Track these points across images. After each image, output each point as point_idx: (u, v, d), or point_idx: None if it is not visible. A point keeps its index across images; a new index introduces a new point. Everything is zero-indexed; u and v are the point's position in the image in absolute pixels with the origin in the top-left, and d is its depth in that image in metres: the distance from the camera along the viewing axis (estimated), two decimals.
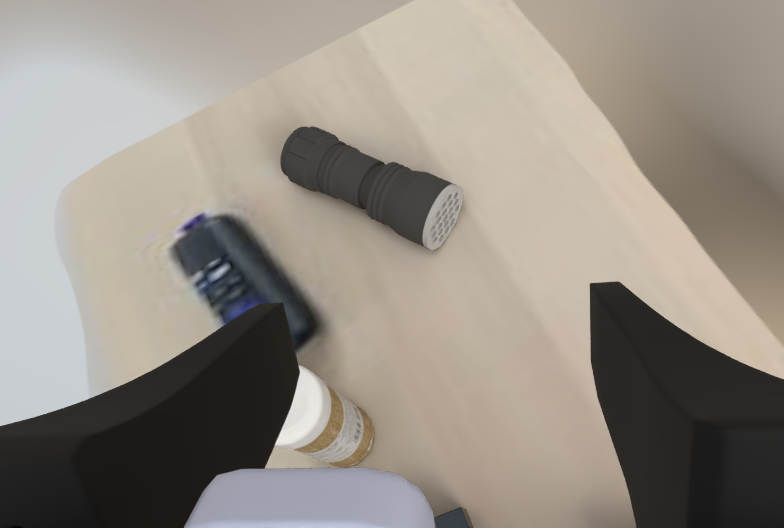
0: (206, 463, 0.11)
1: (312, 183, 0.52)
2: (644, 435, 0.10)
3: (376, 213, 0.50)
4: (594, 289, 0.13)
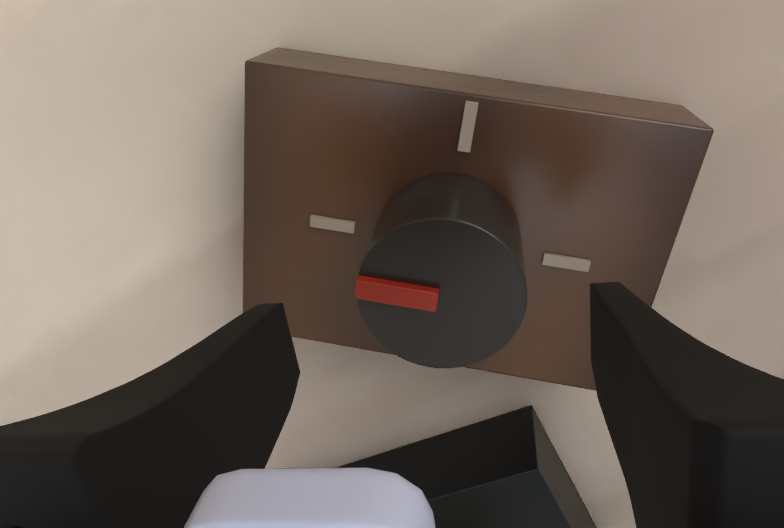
0: (206, 463, 0.11)
1: None
2: (644, 435, 0.10)
3: None
4: (594, 289, 0.13)
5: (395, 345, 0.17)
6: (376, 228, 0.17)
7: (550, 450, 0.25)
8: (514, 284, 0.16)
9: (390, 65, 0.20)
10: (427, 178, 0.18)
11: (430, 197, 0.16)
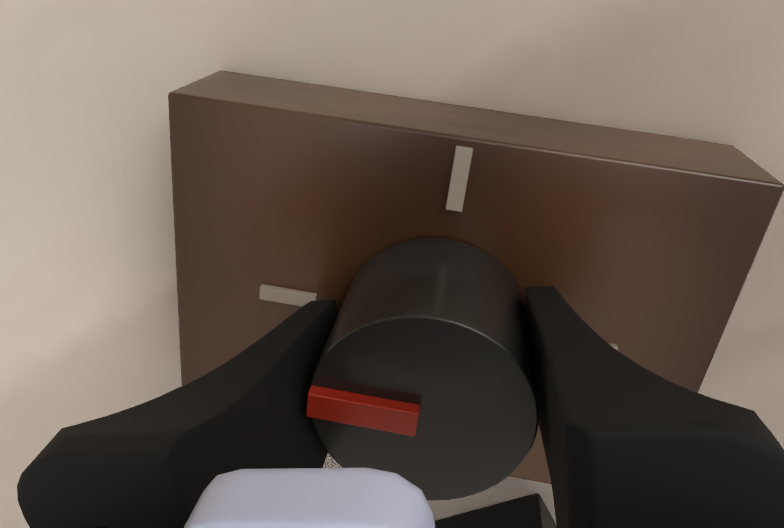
0: (275, 462, 0.11)
1: None
2: (554, 436, 0.10)
3: None
4: (526, 293, 0.13)
5: None
6: (339, 313, 0.13)
7: None
8: (521, 402, 0.11)
9: (362, 94, 0.15)
10: (407, 243, 0.14)
11: (408, 277, 0.12)
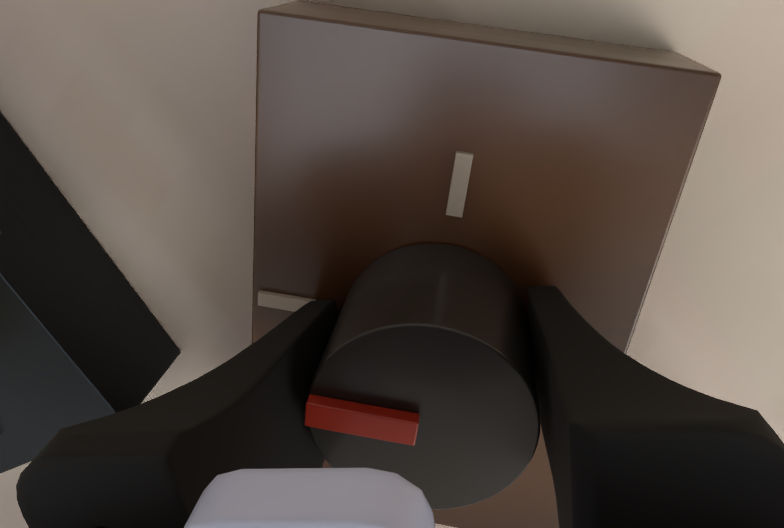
0: (275, 462, 0.11)
1: None
2: (556, 437, 0.10)
3: None
4: (528, 293, 0.13)
5: None
6: (337, 320, 0.13)
7: None
8: (522, 411, 0.11)
9: None
10: (406, 249, 0.14)
11: (407, 284, 0.12)
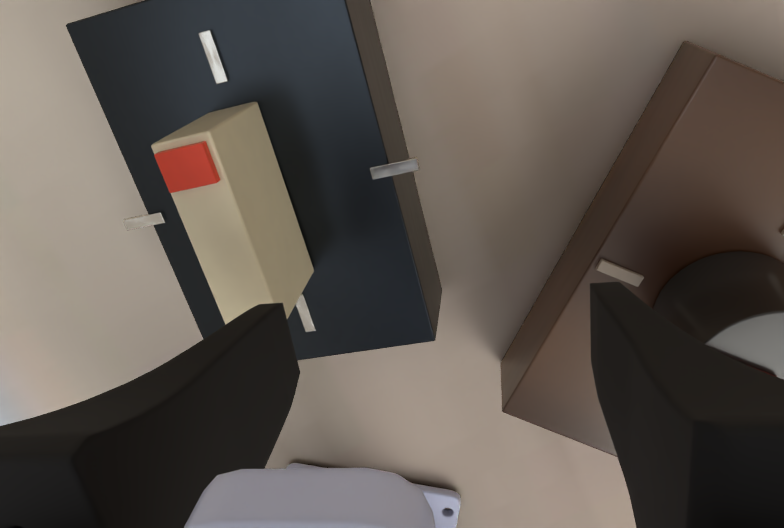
0: (206, 463, 0.11)
1: None
2: (644, 435, 0.10)
3: None
4: (594, 289, 0.13)
5: None
6: (698, 297, 0.17)
7: None
8: None
9: None
10: (741, 254, 0.18)
11: (774, 282, 0.16)
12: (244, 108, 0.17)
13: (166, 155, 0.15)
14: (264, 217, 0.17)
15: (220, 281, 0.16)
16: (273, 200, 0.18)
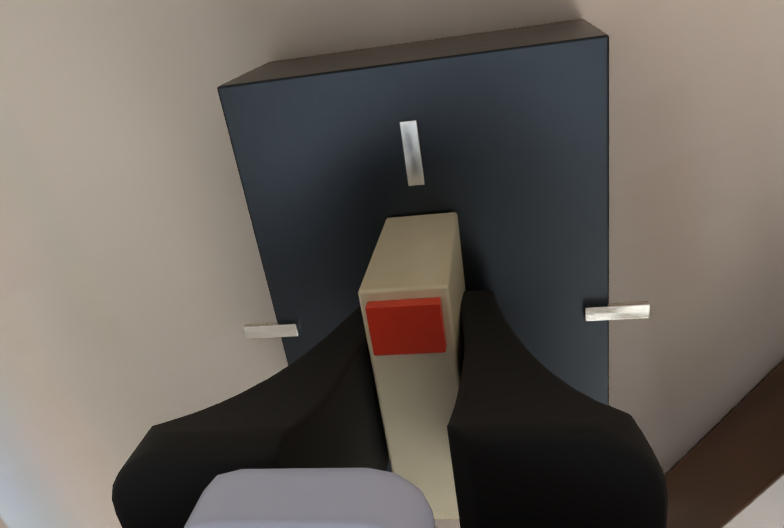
0: (353, 461, 0.11)
1: None
2: None
3: None
4: (462, 297, 0.13)
5: None
6: None
7: None
8: None
9: None
10: None
11: None
12: (452, 228, 0.13)
13: (381, 309, 0.11)
14: None
15: (408, 459, 0.12)
16: None
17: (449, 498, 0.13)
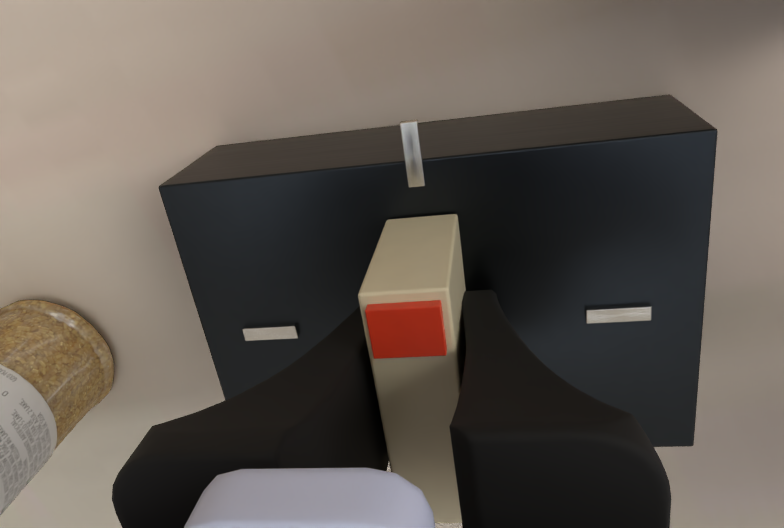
0: (353, 461, 0.11)
1: None
2: None
3: None
4: (463, 297, 0.13)
5: None
6: None
7: None
8: None
9: None
10: None
11: None
12: (453, 230, 0.13)
13: (381, 312, 0.11)
14: None
15: (408, 462, 0.12)
16: None
17: (449, 502, 0.13)
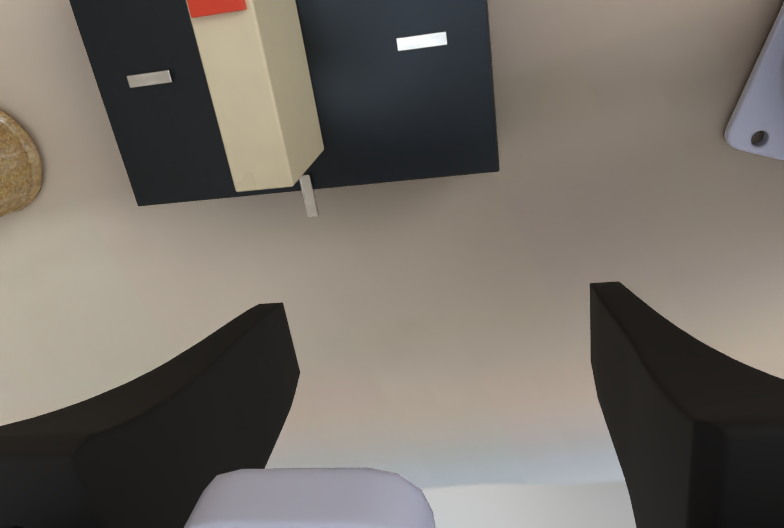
0: (206, 463, 0.11)
1: None
2: (644, 435, 0.10)
3: None
4: (594, 289, 0.13)
5: None
6: None
7: None
8: None
9: None
10: None
11: None
12: None
13: None
14: (285, 68, 0.16)
15: (233, 127, 0.16)
16: (293, 57, 0.17)
17: (269, 165, 0.16)
